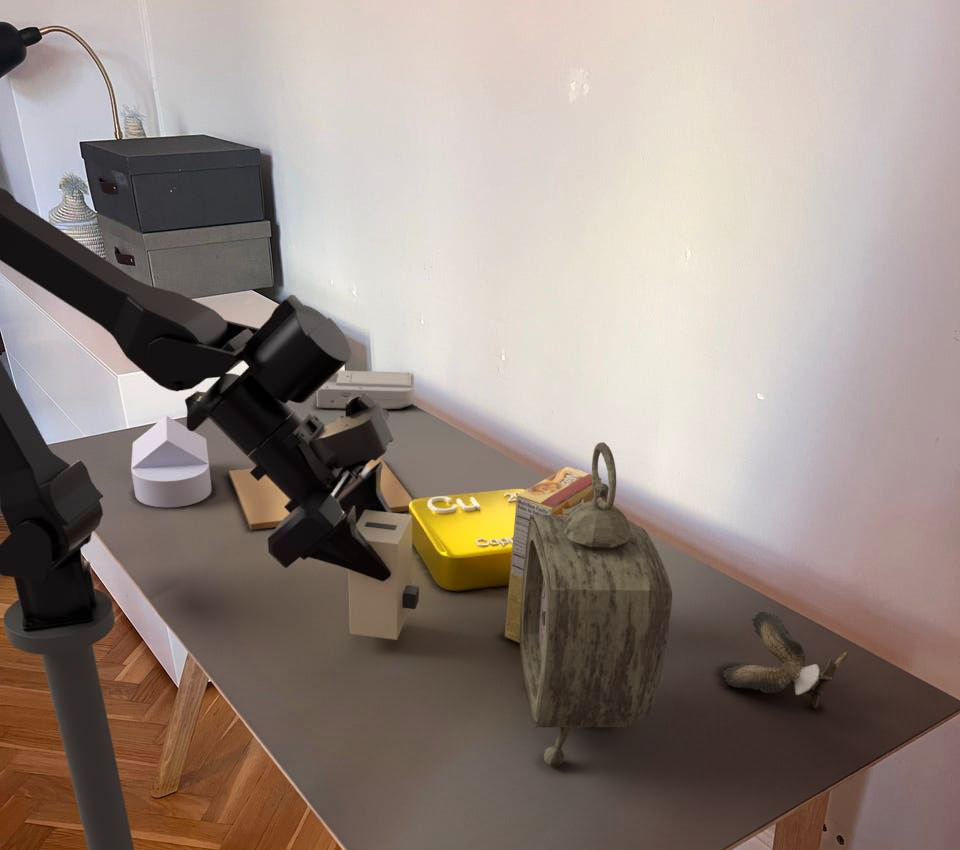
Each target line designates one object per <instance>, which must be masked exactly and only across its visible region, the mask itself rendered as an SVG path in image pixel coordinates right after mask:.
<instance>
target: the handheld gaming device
mask: <svg viewBox="0 0 960 850" xmlns="http://www.w3.org/2000/svg"><path fill="white" fill-rule="evenodd" d="M315 393H316V407H317V408H319V409H344V410H346V404H347V403H348V401H349V400H350V399H351V398H353V397H355V396H358V395H361V394H364V393H365V394H366V395H367V396H368V397H369V398H371V399H372V400H373V401H374V402H375V403H376V404H377V403H380V406H381V407H382V409H385V410H394V409H396V410H401V409H403V408H406V407H410V406H411V405H413V404H414V400H415V399H414V398H415V397H414V396H415V374H414V372H399V371H394V372H393V371H366V370H339V371H337V372H336V373H335V374H334V375H333V376H332V377H331V378H330V379H329V380H328V381H327V382H326V383H325V384H324V385H323V386H322V387H320V388H319V389H318V390H317V391H316V392H315Z"/></svg>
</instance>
